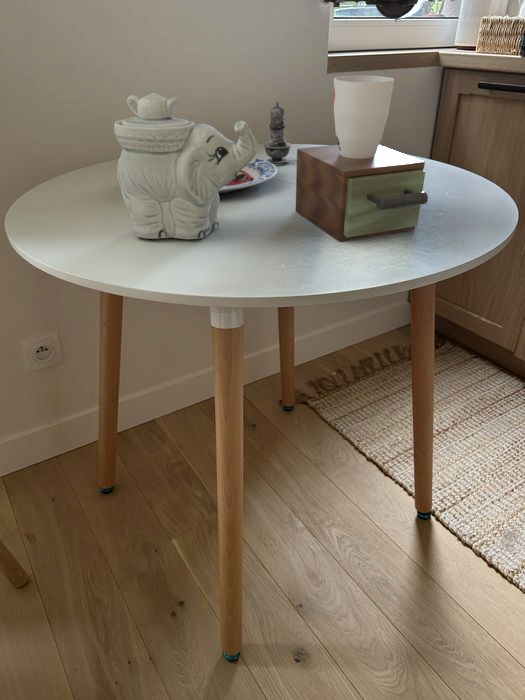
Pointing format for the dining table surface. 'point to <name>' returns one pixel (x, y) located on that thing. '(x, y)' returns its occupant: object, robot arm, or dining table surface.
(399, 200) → the drawer
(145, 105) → the teapot
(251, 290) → the dining table surface
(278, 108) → the salt shaker
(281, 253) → the dining table surface
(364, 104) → the cup
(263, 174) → the ceramic plate
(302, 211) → the cabinet
